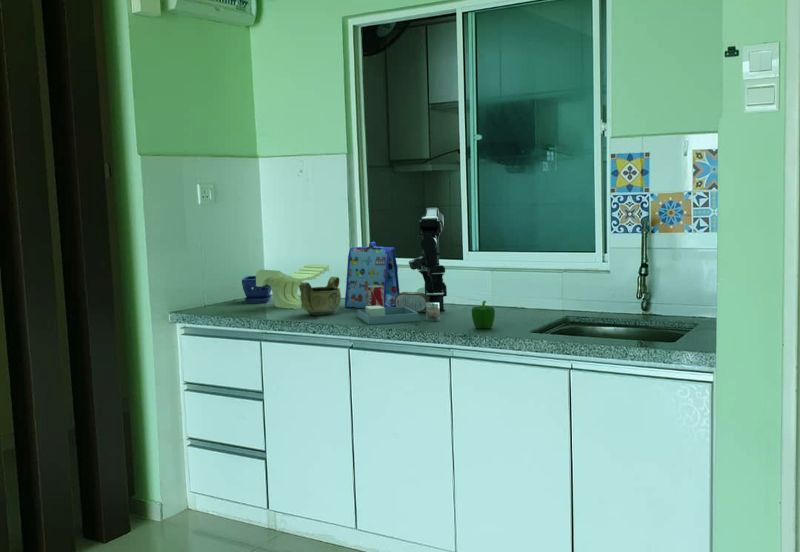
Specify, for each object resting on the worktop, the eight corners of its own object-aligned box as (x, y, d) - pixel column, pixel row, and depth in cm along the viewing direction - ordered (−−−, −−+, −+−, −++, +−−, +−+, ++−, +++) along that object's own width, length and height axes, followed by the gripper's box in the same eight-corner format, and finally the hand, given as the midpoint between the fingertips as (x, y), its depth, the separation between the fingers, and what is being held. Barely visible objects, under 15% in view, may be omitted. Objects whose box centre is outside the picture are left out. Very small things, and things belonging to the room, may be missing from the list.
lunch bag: (401, 306, 366) (399, 241, 363) (384, 310, 354) (382, 243, 351) (361, 303, 377) (359, 240, 374) (343, 307, 366) (341, 242, 363)
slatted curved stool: (306, 300, 392) (305, 263, 390) (330, 303, 382) (328, 264, 380) (257, 308, 370) (255, 269, 368) (280, 311, 359) (278, 270, 357)
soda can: (382, 316, 338) (381, 287, 337) (365, 316, 340) (364, 287, 339) (385, 313, 345) (385, 284, 344) (369, 313, 347) (368, 285, 345)
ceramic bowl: (323, 309, 361) (322, 275, 359) (353, 312, 351) (352, 277, 349) (288, 317, 343) (286, 281, 341) (319, 319, 333) (318, 282, 331)
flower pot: (270, 303, 387) (269, 278, 385) (242, 304, 387) (241, 278, 385) (274, 299, 400) (273, 275, 399) (246, 300, 400) (245, 275, 398)
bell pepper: (486, 330, 297) (486, 303, 296) (468, 328, 302) (467, 301, 301) (499, 327, 303) (499, 300, 302) (481, 325, 309) (480, 299, 308)
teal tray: (405, 314, 340) (404, 306, 339) (418, 322, 320) (418, 313, 320) (357, 318, 334) (357, 309, 334) (368, 325, 315) (368, 316, 315)
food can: (437, 319, 326) (437, 301, 325) (441, 321, 321) (441, 303, 320) (424, 320, 325) (424, 302, 324) (428, 322, 320) (428, 304, 319)
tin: (430, 312, 346) (429, 292, 345) (427, 313, 343) (427, 293, 342) (396, 311, 352) (396, 291, 351) (393, 312, 349) (393, 292, 348)
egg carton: (380, 317, 331) (379, 305, 330) (385, 320, 323) (384, 308, 322) (365, 318, 329) (365, 306, 329) (370, 321, 321) (369, 309, 321)
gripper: (404, 249, 327) (405, 288, 329) (416, 252, 309) (417, 293, 311) (431, 248, 330) (431, 287, 331) (445, 251, 312) (446, 292, 313)
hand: (431, 289), depth 322 cm, fingers open, 9 cm apart
